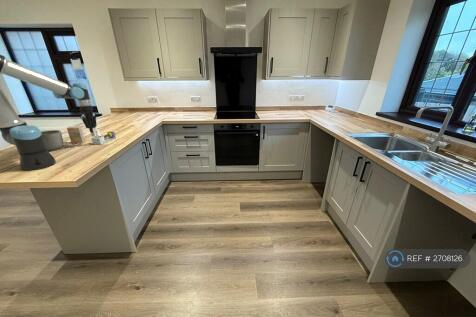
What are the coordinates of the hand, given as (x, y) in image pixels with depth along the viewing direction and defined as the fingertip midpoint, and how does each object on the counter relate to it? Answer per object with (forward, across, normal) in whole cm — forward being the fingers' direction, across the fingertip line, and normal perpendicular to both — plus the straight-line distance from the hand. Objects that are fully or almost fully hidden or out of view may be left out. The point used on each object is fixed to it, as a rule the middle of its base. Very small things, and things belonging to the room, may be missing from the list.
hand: (94, 136), depth 152 cm
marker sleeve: (+6, +5, 0) cm, 7 cm away
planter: (+7, -14, +22) cm, 27 cm away
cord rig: (+7, +10, 0) cm, 12 cm away
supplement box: (+7, +4, +19) cm, 21 cm away
